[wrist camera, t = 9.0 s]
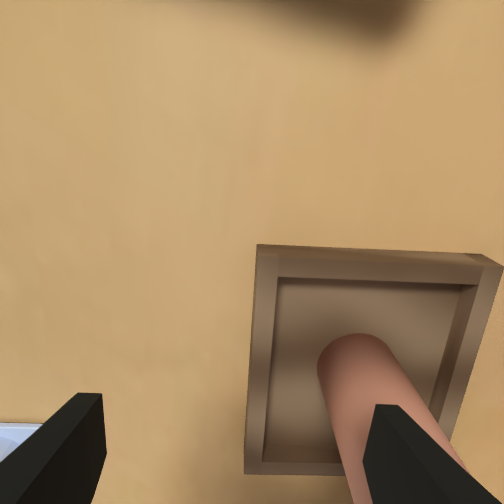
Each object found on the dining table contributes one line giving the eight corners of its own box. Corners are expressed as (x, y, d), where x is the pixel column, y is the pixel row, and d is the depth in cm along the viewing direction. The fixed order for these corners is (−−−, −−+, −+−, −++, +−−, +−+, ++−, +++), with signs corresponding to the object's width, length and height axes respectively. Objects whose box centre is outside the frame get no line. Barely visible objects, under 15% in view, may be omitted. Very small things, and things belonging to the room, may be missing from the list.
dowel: (387, 398, 22) (478, 575, 13) (313, 397, 22) (357, 574, 13) (399, 333, 20) (510, 486, 12) (320, 332, 20) (374, 485, 12)
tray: (424, 452, 24) (438, 477, 22) (243, 449, 24) (244, 474, 22) (481, 254, 19) (504, 266, 18) (256, 244, 19) (258, 256, 17)
